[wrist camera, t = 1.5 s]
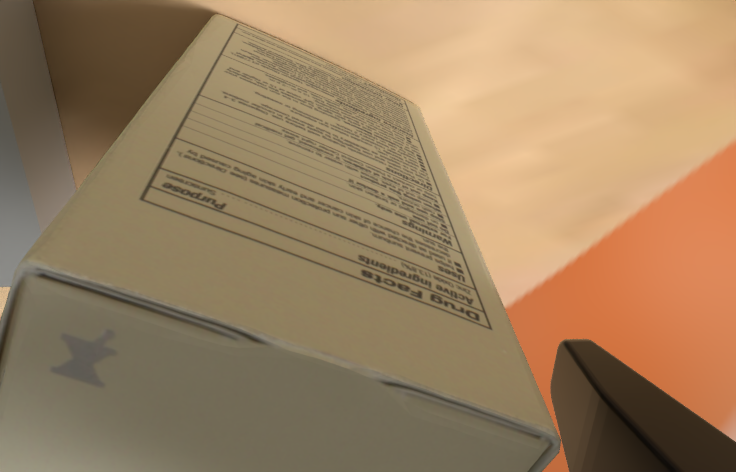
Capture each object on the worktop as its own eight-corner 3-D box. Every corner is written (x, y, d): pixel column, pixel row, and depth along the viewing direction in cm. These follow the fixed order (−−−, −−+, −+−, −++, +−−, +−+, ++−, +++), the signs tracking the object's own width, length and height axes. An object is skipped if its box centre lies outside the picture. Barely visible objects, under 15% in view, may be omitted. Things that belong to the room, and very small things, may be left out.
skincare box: (163, 149, 18) (-96, 539, 7) (215, 5, 16) (-29, 241, 5) (367, 234, 20) (399, 655, 9) (435, 109, 18) (579, 452, 7)
